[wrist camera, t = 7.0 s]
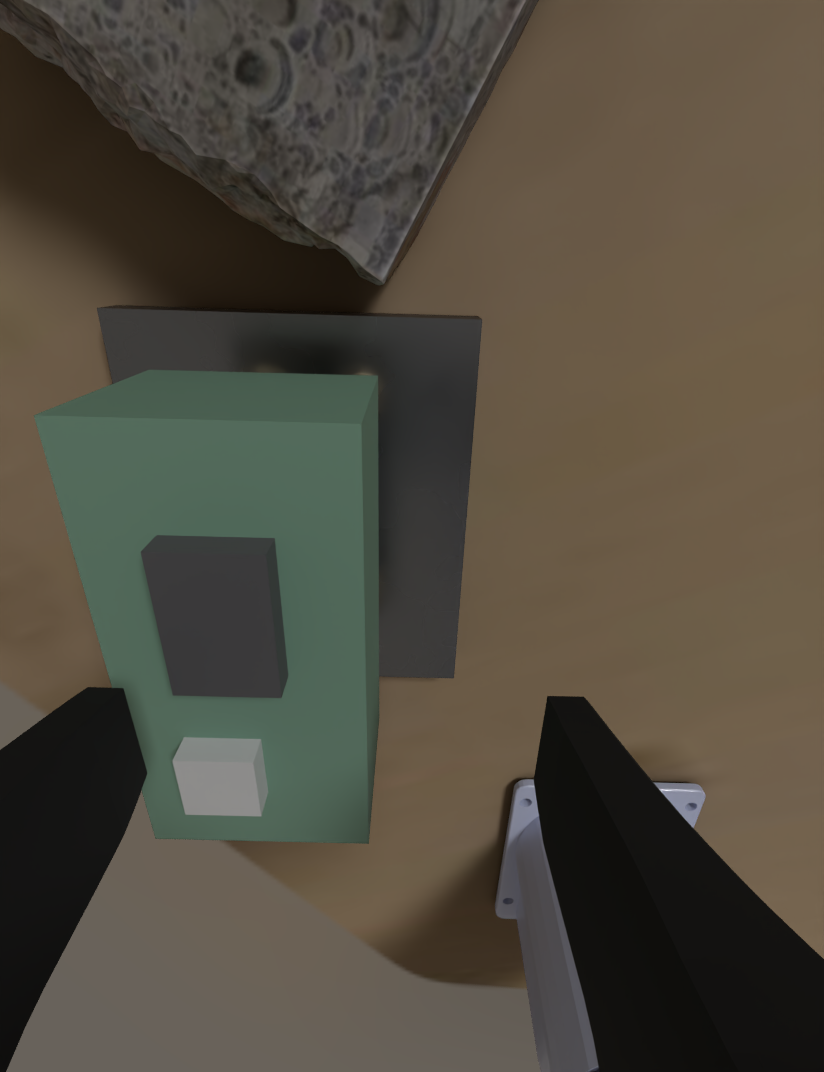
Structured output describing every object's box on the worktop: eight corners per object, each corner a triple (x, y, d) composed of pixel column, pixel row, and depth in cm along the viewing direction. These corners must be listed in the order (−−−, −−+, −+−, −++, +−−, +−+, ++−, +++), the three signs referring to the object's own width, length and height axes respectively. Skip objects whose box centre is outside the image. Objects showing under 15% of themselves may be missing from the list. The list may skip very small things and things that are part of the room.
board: (379, 717, 16) (366, 868, 12) (212, 712, 16) (144, 864, 12) (378, 375, 12) (358, 434, 8) (148, 369, 12) (8, 425, 8)
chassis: (452, 660, 20) (459, 744, 17) (184, 652, 20) (135, 735, 17) (478, 316, 15) (497, 333, 12) (115, 305, 15) (21, 318, 11)
